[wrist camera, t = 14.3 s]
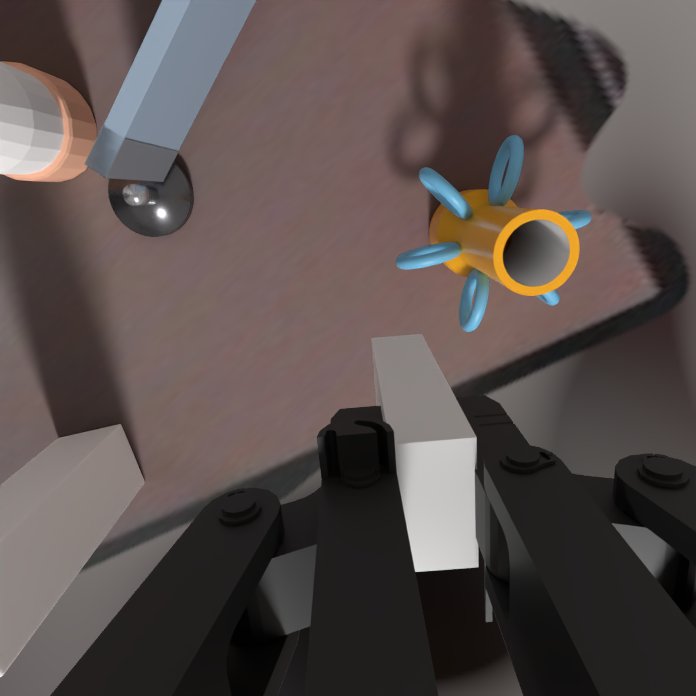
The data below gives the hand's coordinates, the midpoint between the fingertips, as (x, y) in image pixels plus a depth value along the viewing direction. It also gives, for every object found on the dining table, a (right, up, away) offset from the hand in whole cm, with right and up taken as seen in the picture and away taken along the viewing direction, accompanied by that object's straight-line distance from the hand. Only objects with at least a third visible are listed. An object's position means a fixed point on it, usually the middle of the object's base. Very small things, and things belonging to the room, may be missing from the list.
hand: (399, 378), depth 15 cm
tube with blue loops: (+8, +10, +23) cm, 26 cm away
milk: (-23, -9, +29) cm, 38 cm away
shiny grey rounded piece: (-16, +12, +22) cm, 30 cm away
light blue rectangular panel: (-11, +19, +18) cm, 29 cm away
